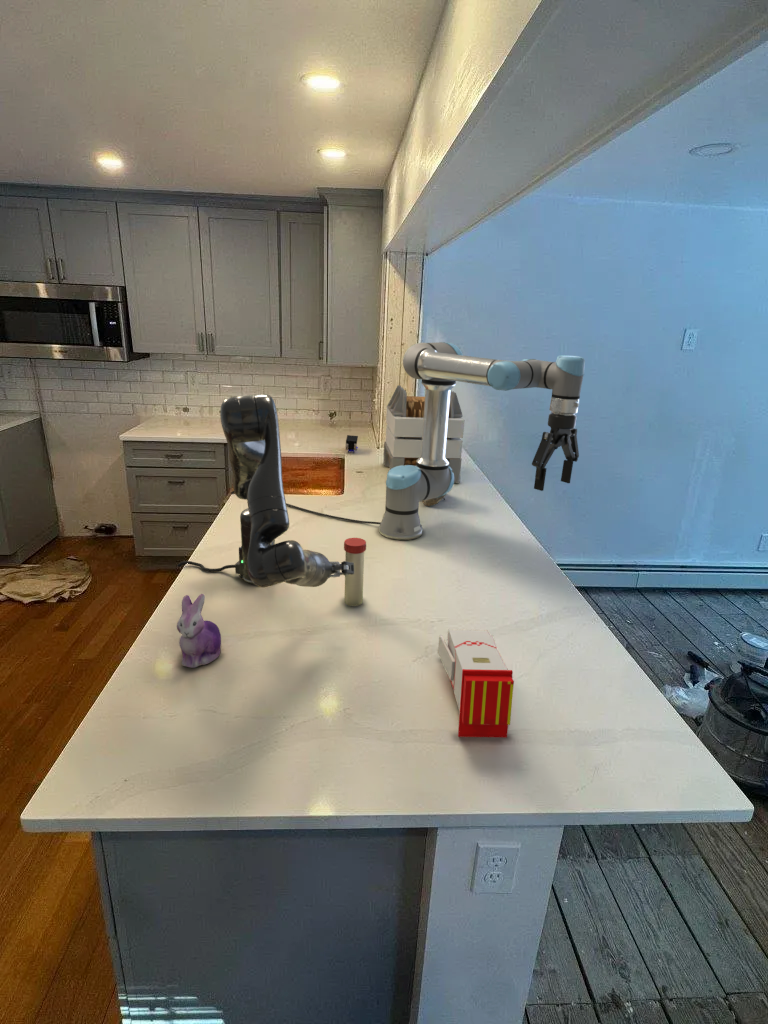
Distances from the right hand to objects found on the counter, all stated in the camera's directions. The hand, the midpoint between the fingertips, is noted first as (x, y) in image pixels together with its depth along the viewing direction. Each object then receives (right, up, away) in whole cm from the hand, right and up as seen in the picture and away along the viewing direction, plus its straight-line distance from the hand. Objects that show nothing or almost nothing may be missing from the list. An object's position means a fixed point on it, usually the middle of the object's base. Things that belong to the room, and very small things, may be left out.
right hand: (552, 485), depth 166 cm
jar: (-57, -32, -13) cm, 67 cm away
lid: (-57, -16, -19) cm, 62 cm away
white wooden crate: (-32, +11, +109) cm, 115 cm away
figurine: (-90, -40, -40) cm, 106 cm away
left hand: (-62, -22, -32) cm, 73 cm away
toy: (-31, -45, -47) cm, 72 cm away
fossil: (-28, -2, +72) cm, 77 cm away
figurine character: (-67, +26, +145) cm, 162 cm away
